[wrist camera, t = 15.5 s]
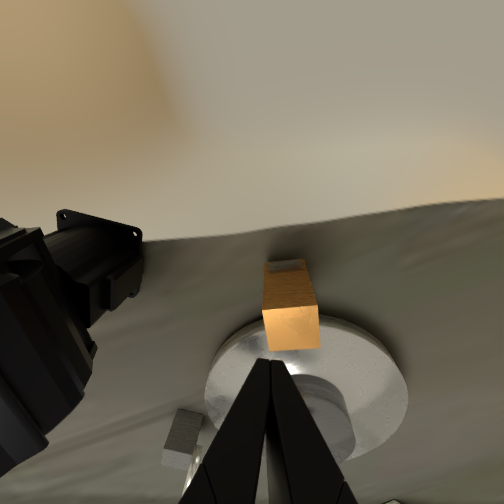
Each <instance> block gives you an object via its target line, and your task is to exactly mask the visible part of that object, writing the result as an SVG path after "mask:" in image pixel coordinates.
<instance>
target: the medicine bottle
mask: <svg viewBox="0 0 504 504" xmlns="http://www.w3.org/2000/svg"><path fill="white" fill-rule="evenodd" d="M385 504H401V503H399V502H397V501H395V500H392V501H390V502H387V503H385Z"/></svg>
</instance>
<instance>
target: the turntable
mask: <svg viewBox="0 0 504 504" xmlns="http://www.w3.org/2000/svg"><path fill="white" fill-rule="evenodd" d="M262 313H263V318H264V319H262V320H260V321H257V322H255V323H252V324H250V325H248V326H246V327H244V328H242V329H241V330H239V331H238V332H236V333H235V334H234V335H232V336H231V337H230V338H229V339H228V340H227V341H226V342H225V343H224V344H223V345H222V346H221V348H220V349H219V350H218V352H217V354H216V355H215V357H214V359H213V362H212V365H211V368H210V372H209V376H208V379H207V383H206V387H205V405H206V409H207V412H208V415H209V417H210V419H211V421H212V422H213V424H214V425H215V427H216V428H217V429H218V430H219V428H220V426H221V425H222V423H223V421H224V419H225V417H226V415H227V413H228V412H229V410H230V408H231V406H232V404H233V402H234V400H235V398H236V397H237V395H238V393H239V391H240V389H241V387H242V385H243V384H244V382H245V380H246V378H247V376H248V374H249V372H250V370H251V369H252V367H253V365H254V363H255V361H256V359H257V358H267V359H269V360H271V359H277V360H282V361H284V363H285V365H286V367H287V369H288V371H289V372H290V374H291V375H292V374H306V375H313V376H317V377H320V378H323V379H325V380H327V381H329V382H331V383H332V384H333V385H335V386H336V387H337V388H338V389H339V390H340V392H341V393H342V395H343V397H344V400H345V403H346V407H347V410H348V414H349V417H350V421H351V424H352V427H353V431H354V434H355V438H356V445H355V448H354V451H353V452H352V454H351V455H350V456H349V457H348V458H347V459H346V460H349V459H352V458H355V457H358V456H361V455H363V454H365V453H367V452H369V451H371V450H373V449H375V448H376V447H378V446H379V445H381V444H382V443H384V442H385V441H386V440H387V439H388V438H390V437H391V436H392V435H393V433H394V432H395V431H396V430H397V429H398V427H399V426H400V424H401V423H402V421H403V419H404V416H405V414H406V410H407V406H408V392H407V386H406V383H405V381H404V378H403V376H402V374H401V372H400V371H399V369H398V367H397V365H396V364H395V362H394V360H393V358H392V357H391V355H390V354H389V352H388V351H387V349H386V348H385V346H384V345H383V344H382V343H381V342H380V341H379V340H378V339H377V338H376V337H374V336H373V335H372V334H371V333H369V332H368V331H366V330H364V329H363V328H361V327H359V326H357V325H355V324H353V323H350V322H348V321H346V320H342V319H339V318H336V317H332V316H327V315H321V314H318V305H317V301H316V298H315V294H314V291H313V288H312V284H311V281H310V277H309V274H308V270H307V267H306V264H305V260H304V258H301V259H292V260H284V261H275V262H266V263H265V266H264V284H263V302H262ZM262 458H263V457H262ZM263 459H264V458H263ZM346 460H345V461H346Z"/></svg>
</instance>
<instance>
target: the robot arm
mask: <svg viewBox="0 0 504 504" xmlns="http://www.w3.org/2000/svg"><path fill="white" fill-rule="evenodd" d="M64 214H65V216H66V218H65V217H64ZM56 216H57V228H58V230H57V231H55V232H52V233H50V234H47V235H45V236H44V234H43V232H42V230H41V228H40V227H35V228H26V229H25V228H18V226H14V225H13V224H11V223H10V222H8V221H6V220H5V219H3V218H0V477H2V476H3V475H4V474H6V473H7V472H8V471H10V470H11V469H12V468H14V467H15V466H17V465H18V464H20V463H22V462H23V461H25V460H27V459H29V458H30V457H32V456H34V455H36V454H37V453H39V452H41V451H42V450H44V449H45V448H46V447H47V446H48V444H49V441H48V440H47V438H46V437H45V435H46V434H48V433H49V432H50V431H52V430H53V429H54V428H55V427H56V426H57V425H58V424H59V423H60V422H62V421H63V420H64V419H65V418H66V417H67V416H68V415H69V414H70V413H71V412H72V411H73V410H74V409H75V407H76V406H77V405H78V404H79V403H80V401H81V400H82V399H83V397H84V394H85V393H84V391H83V390H84V388H85V386H86V384H87V382H88V380H89V378H90V376H91V374H92V366H93V358H94V356H95V353H96V351H97V348H98V347H97V345H96V343H95V341H92V339H91V337H90V335H89V333H88V331H87V329H86V328H90V327H91V326H92V325H93V324H94V323H95V322H96V321H97V320H98V319H99V318H100V317H101V316H102V315H103V314H104V313H105V312H106V311H111V312H112V311H113V310H115V309H116V308H117V307H118V306H119V305H120V304H121V303H122V302H123V301H124V300H125V299H126V298H127V297H130V298H134V297H135V296H136V295H137V294H138V292H139V284H140V283H141V282H142V270H143V255H142V254H141V249H142V231H141V230H140V229H139V228H137V227H134V226H130V225H126V224H122V223H118V222H114V221H111V220H106V219H103V218H99V217H95V216H91V215H87V214H83V213H79V212H76V211H72V210H67V209H63V210H60V211H58V212H57V214H56ZM133 232H135V233H136V234H137V236H135V235H134V234H133ZM132 292H133V293H132ZM264 439H265V443H266V460H267V477H268V493H269V504H358V502H357V501H356V499H355V497H354V495H353V493H352V491H351V489H350V487H349V485H348V483H347V482H346V481H344V476H343V474H342V472H341V470H340V468H339V466H338V464H337V463H336V461H335V459H334V457H333V455H332V453H331V451H330V449H329V447H328V445H327V443H326V441H325V440H324V438H323V436H322V434H321V432H320V430H319V428H318V426H317V424H316V422H315V420H314V418H313V417H312V415H311V413H310V411H309V409H308V407H307V405H306V403H305V401H304V399H303V397H302V395H301V394H300V392H299V390H298V388H297V386H296V384H295V382H294V380H293V378H292V376H291V374H290V372H289V371H288V369H287V367H286V365H285V363H284V361H282V360H277V359H271V360H269V359H267V358H257V359H256V361H255V363H254V365H253V367H252V369H251V370H250V372H249V374H248V376H247V378H246V380H245V382H244V384H243V385H242V387H241V389H240V391H239V393H238V395H237V397H236V398H235V400H234V402H233V404H232V406H231V408H230V410H229V412H228V413H227V415H226V417H225V419H224V421H223V423H222V425H221V426H220V428H219V430H218V432H217V434H216V436H215V438H214V440H213V441H212V443H211V445H210V447H209V449H208V451H207V453H206V454H205V456H204V458H203V460H202V463H201V464H200V465H199V467H198V469H197V471H196V473H195V475H194V476H193V478H192V480H191V482H190V484H189V485H188V487H187V489H186V491H185V492H184V494H183V496H182V498H181V499H180V501H179V503H178V504H255V499H256V492H257V486H258V479H259V472H260V466H261V459H262V452H263V445H264Z"/></svg>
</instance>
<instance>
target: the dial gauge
mask: <svg viewBox="0 0 504 504" xmlns="http://www.w3.org/2000/svg"><path fill="white" fill-rule="evenodd" d="M202 419H203V415H202V414H198V413H194V412H190V411H185V410H181V409H177V412H176V415H175V418H174V421H173V424H172V426H171V429H170V432H169V435H168V438H167V440H166V443H165V446H164V449H163V455H162V461H161V465H163V466H168V467H172V468H177V469H181V470H185V471H188V474H187V478H186V482H185V486H184V490H183V494H184V492H185V491H186V489H187V487H188V485H189V484H190V482H191V480H192V478H193V476H194V475H195V473H196V471H197V469H198V465H199V461H200V457H201V452H202V447H203V446H201V445H197V444H196V443H197V439H198V435H199V431H200V427H201V423H202ZM183 494H182V496H183Z"/></svg>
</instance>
